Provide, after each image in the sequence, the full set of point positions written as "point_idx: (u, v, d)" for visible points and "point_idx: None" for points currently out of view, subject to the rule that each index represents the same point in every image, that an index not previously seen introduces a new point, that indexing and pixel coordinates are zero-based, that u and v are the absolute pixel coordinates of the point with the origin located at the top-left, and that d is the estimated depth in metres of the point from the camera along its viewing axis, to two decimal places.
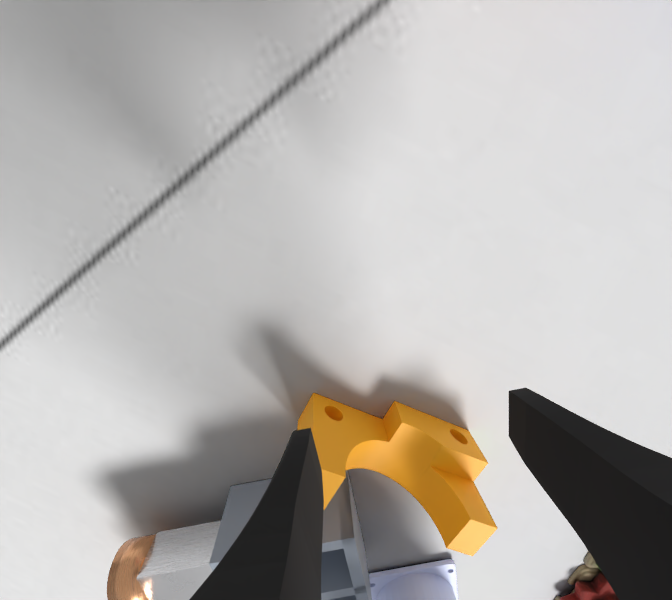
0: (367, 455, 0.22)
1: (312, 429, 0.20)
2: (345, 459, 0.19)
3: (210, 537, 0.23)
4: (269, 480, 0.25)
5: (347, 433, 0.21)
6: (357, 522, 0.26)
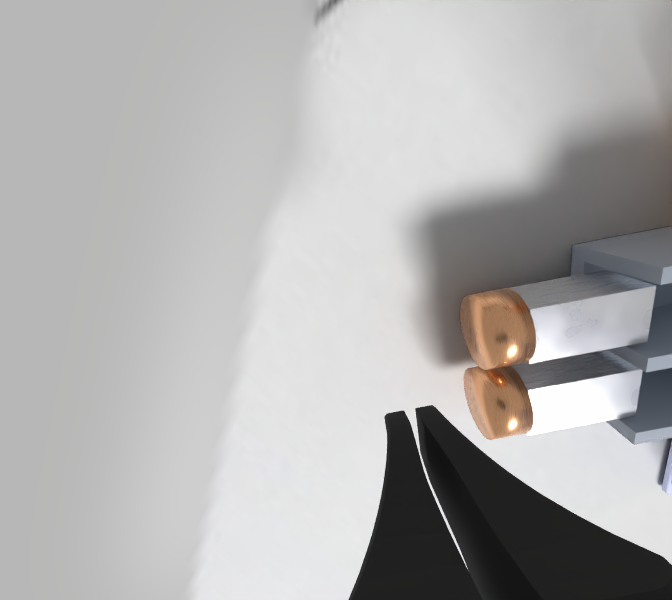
0: None
1: None
2: None
3: (590, 281, 0.17)
4: (625, 235, 0.20)
5: None
6: None
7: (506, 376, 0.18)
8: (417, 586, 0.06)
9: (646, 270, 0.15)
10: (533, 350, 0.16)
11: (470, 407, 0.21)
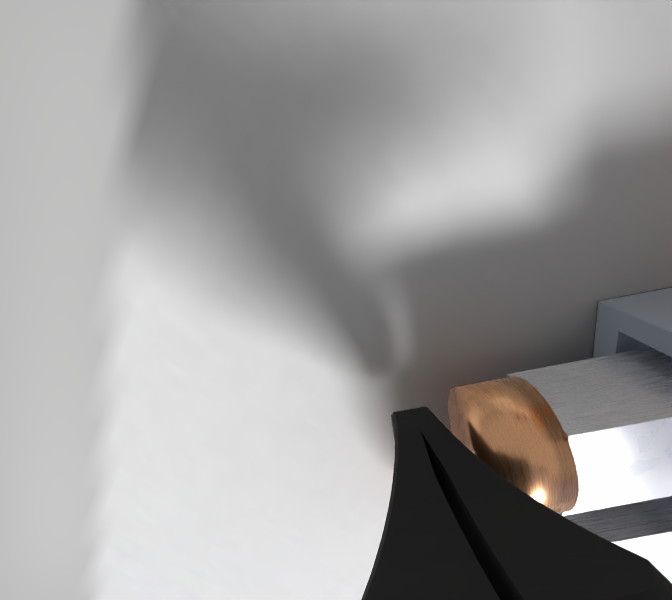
0: None
1: None
2: None
3: (663, 368, 0.10)
4: None
5: None
6: None
7: None
8: (431, 583, 0.06)
9: None
10: (573, 505, 0.09)
11: None
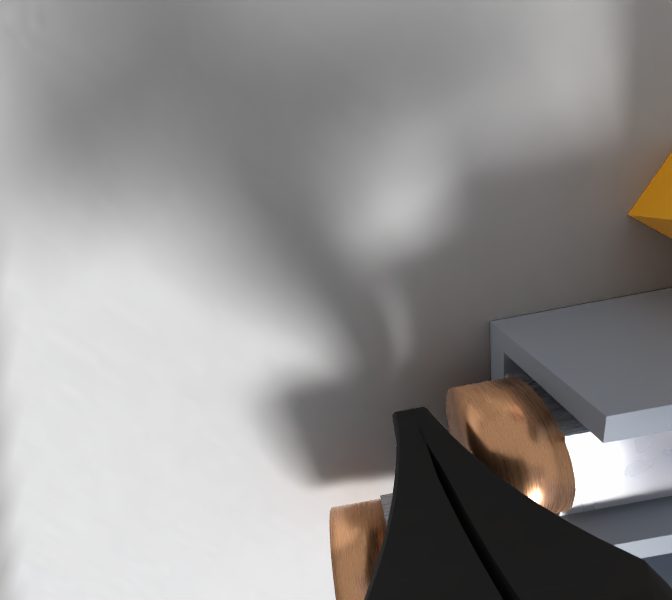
0: None
1: None
2: None
3: None
4: (570, 308, 0.13)
5: None
6: None
7: (370, 546, 0.11)
8: (434, 583, 0.06)
9: (581, 407, 0.08)
10: (569, 505, 0.09)
11: None
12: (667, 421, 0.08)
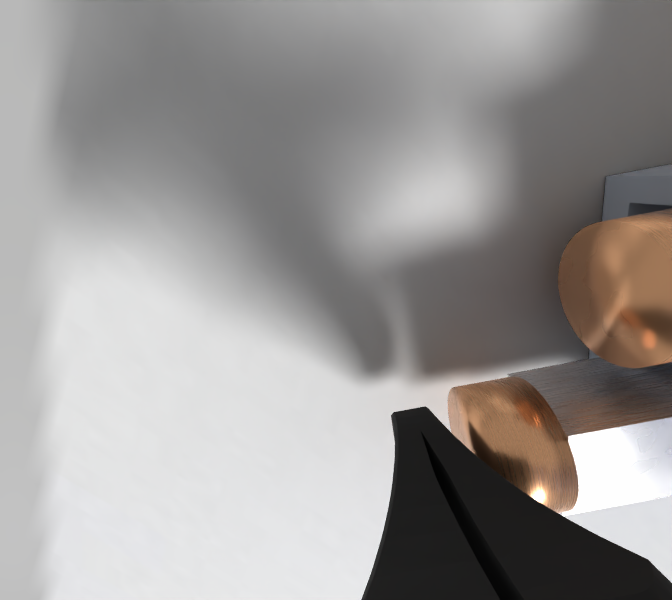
0: None
1: None
2: None
3: None
4: None
5: None
6: None
7: (524, 406, 0.10)
8: (431, 583, 0.06)
9: None
10: None
11: None
12: None
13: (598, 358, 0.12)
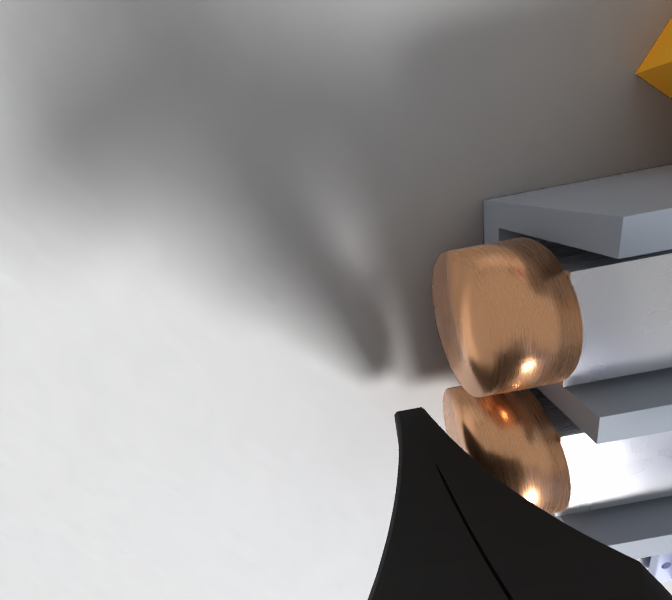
0: None
1: None
2: None
3: None
4: None
5: None
6: None
7: (517, 407, 0.10)
8: (438, 582, 0.06)
9: (590, 229, 0.07)
10: (575, 360, 0.08)
11: None
12: None
13: None
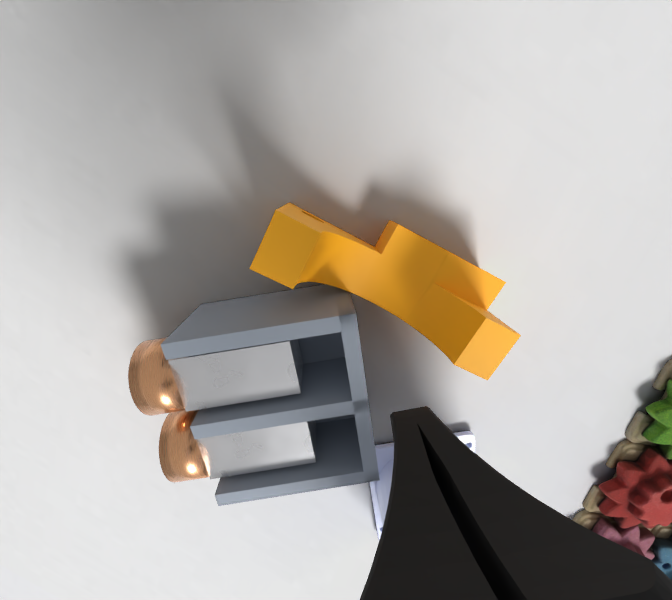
0: (354, 270, 0.18)
1: (282, 207, 0.15)
2: (323, 230, 0.14)
3: None
4: (249, 296, 0.20)
5: (328, 227, 0.16)
6: None
7: (187, 420, 0.18)
8: (429, 584, 0.06)
9: None
10: (175, 400, 0.16)
11: None
12: (195, 348, 0.15)
13: None
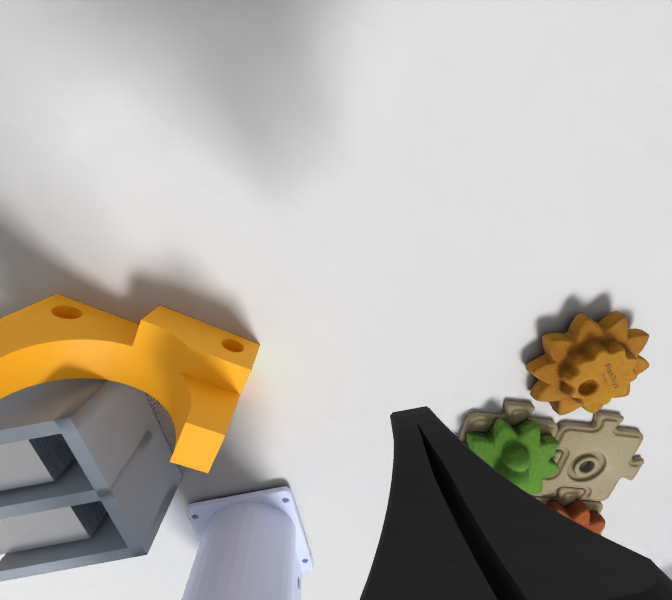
0: (106, 362, 0.19)
1: (3, 318, 0.16)
2: (23, 347, 0.15)
3: None
4: None
5: (64, 329, 0.17)
6: (144, 429, 0.21)
7: None
8: (429, 584, 0.06)
9: None
10: None
11: None
12: None
13: None
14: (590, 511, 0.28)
